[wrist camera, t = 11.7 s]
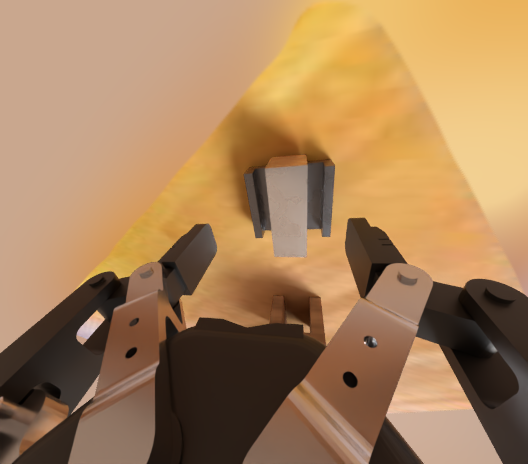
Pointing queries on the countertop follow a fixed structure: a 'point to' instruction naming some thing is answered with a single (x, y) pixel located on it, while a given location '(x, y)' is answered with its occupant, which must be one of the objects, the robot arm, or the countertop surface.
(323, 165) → the grey channel block
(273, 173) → the shiny metal block
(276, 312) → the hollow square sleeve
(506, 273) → the countertop surface
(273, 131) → the countertop surface
